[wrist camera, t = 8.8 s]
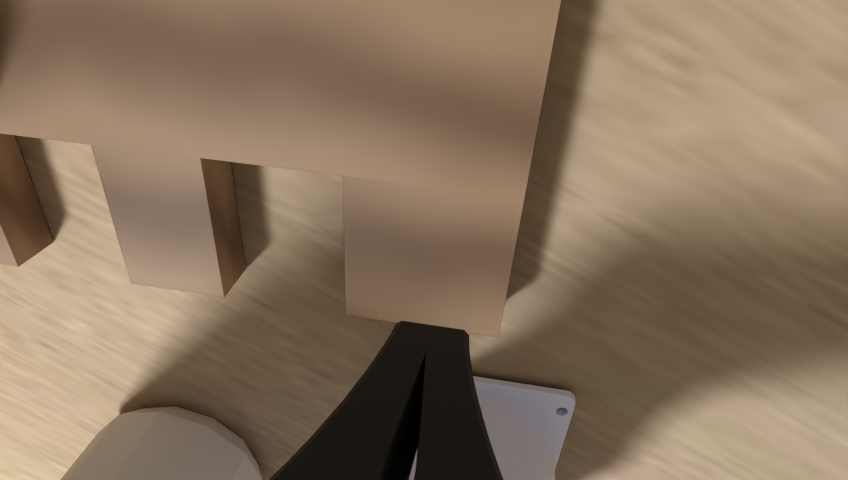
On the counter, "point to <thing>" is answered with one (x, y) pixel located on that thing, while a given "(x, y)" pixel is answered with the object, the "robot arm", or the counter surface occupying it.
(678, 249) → the counter surface
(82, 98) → the deck
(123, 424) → the jar
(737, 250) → the counter surface
